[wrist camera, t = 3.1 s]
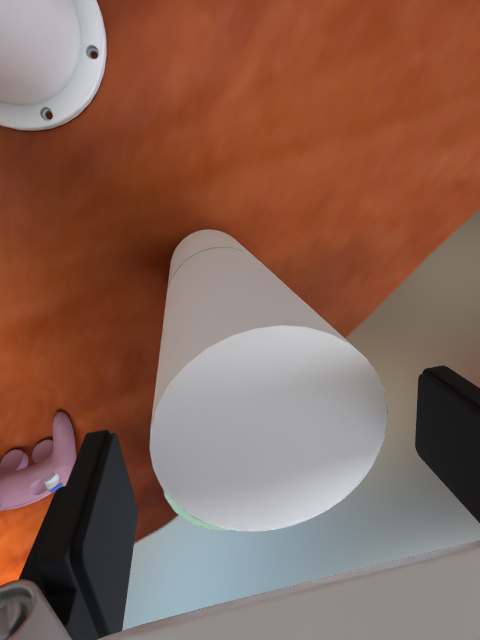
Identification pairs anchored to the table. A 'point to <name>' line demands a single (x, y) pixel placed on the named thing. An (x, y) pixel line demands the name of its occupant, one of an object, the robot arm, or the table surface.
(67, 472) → the video game controller
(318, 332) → the cylindrical container
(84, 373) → the table surface
